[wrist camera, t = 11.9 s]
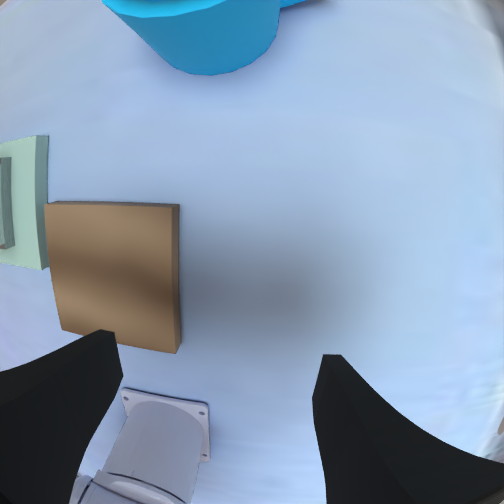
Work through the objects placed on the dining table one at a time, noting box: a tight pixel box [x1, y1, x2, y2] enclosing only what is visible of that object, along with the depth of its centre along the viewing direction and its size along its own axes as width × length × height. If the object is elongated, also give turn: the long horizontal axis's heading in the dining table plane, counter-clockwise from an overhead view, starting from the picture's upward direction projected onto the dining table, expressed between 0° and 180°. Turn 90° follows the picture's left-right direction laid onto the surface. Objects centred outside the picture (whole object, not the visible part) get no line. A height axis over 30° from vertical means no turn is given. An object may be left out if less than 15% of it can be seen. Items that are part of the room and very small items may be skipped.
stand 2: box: [44, 201, 181, 354], centre depth 18 cm, size 10×10×2 cm
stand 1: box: [0, 135, 50, 270], centre depth 17 cm, size 10×10×2 cm
